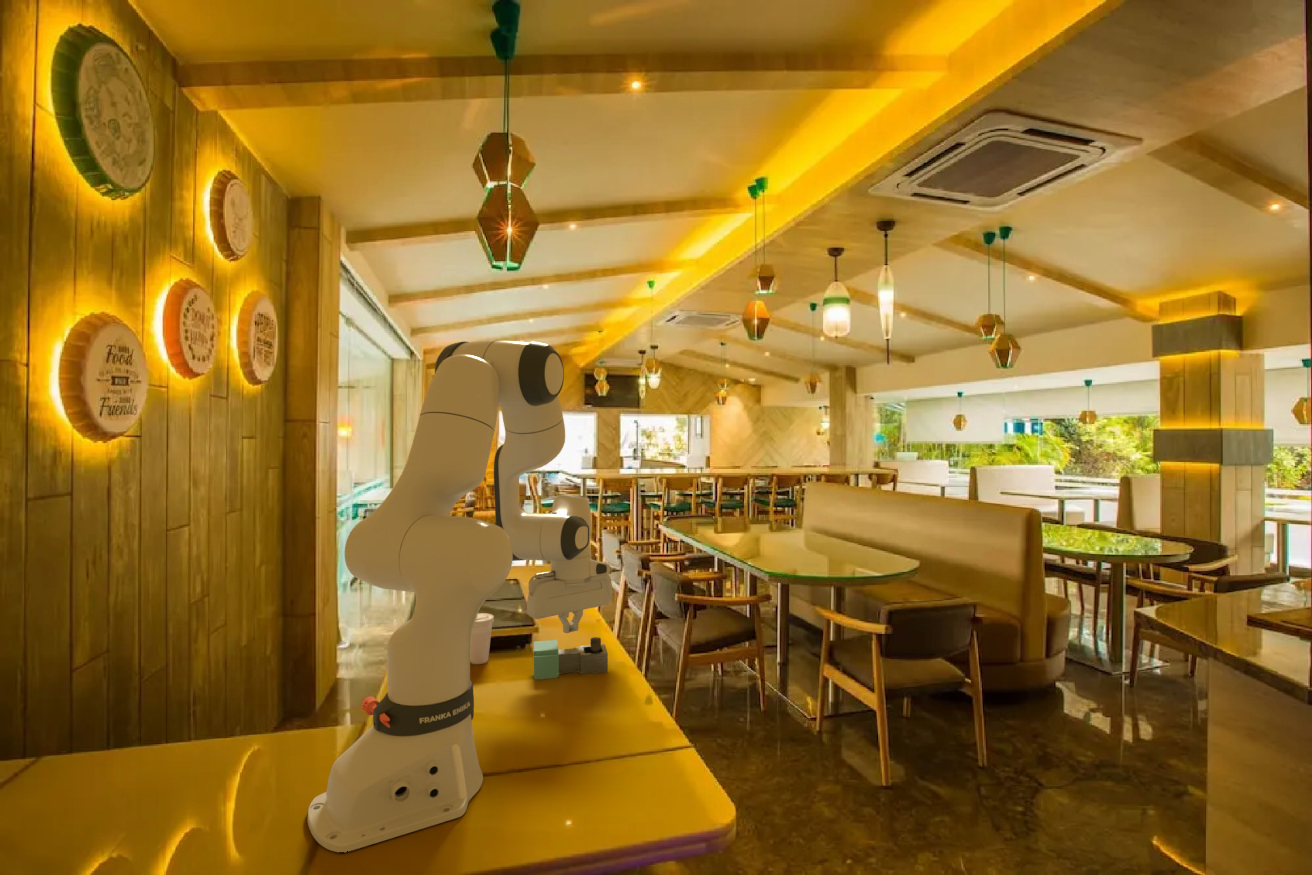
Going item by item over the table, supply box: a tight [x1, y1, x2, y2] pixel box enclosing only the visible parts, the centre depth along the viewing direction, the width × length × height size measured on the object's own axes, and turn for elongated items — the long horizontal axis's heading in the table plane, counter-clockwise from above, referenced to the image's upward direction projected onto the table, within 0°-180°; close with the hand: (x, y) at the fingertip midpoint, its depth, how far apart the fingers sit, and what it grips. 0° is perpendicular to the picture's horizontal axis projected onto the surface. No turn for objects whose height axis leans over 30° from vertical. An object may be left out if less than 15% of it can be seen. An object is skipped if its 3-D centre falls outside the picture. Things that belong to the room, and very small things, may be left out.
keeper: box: [533, 639, 560, 680], centre depth 132 cm, size 5×7×5 cm
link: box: [558, 643, 609, 675], centre depth 133 cm, size 15×6×4 cm, turn 101°
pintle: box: [590, 636, 602, 653], centre depth 135 cm, size 2×2×6 cm
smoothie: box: [470, 612, 495, 665], centre depth 139 cm, size 6×6×14 cm
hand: (570, 631), depth 138 cm, fingers closed
